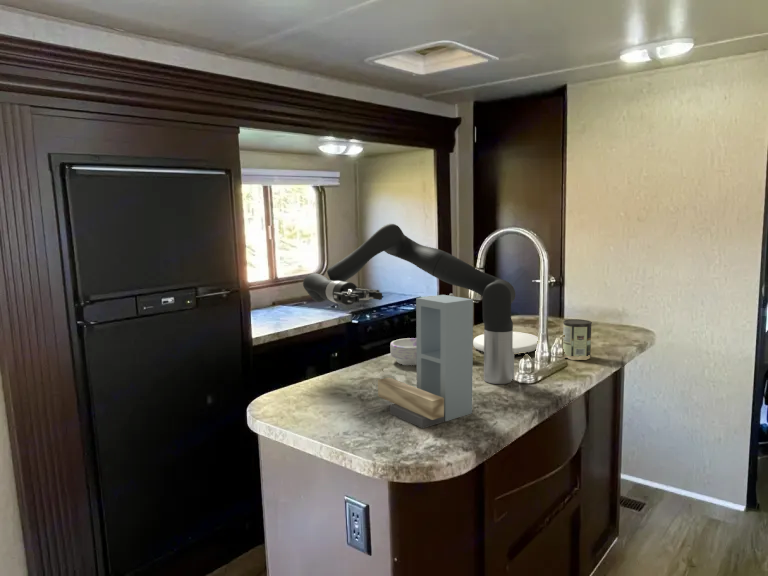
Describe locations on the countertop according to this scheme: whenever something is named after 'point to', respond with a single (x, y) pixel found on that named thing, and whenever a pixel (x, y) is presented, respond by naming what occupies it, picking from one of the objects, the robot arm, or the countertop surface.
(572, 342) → the coffee can
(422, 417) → the charcoal block
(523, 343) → the plate
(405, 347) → the white bowl
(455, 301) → the slate stand
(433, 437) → the countertop surface
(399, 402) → the maple bar
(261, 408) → the countertop surface
